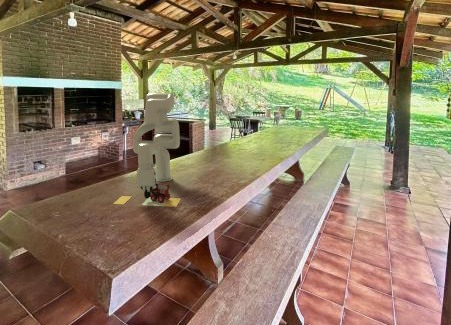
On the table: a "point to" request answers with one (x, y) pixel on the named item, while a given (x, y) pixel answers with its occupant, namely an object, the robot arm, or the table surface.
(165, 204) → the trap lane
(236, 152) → the table surface
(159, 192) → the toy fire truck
